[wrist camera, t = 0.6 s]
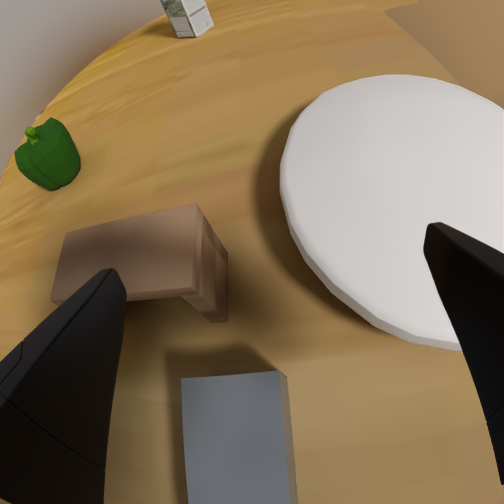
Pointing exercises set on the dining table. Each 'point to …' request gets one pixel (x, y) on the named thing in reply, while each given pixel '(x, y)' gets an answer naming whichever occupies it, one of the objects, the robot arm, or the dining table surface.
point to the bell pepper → (48, 155)
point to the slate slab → (238, 439)
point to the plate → (392, 193)
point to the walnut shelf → (151, 259)
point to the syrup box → (188, 17)
